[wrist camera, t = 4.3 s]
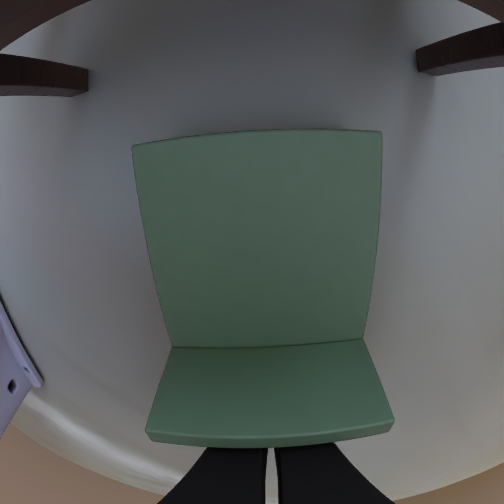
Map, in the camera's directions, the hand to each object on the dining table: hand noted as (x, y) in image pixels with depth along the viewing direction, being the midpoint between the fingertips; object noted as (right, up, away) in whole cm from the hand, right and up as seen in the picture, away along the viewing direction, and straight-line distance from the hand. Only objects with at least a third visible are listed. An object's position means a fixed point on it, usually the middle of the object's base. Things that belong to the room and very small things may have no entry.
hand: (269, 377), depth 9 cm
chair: (0, +5, -1) cm, 5 cm away
